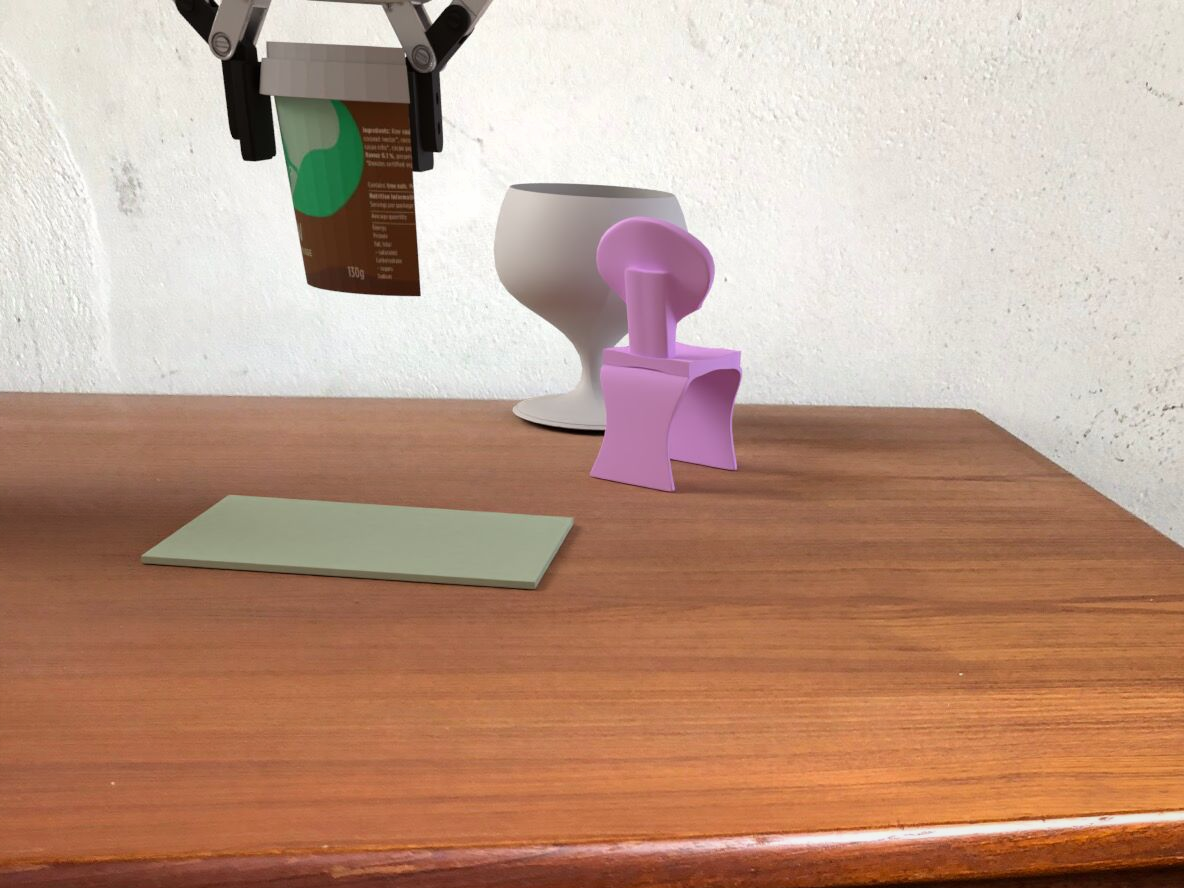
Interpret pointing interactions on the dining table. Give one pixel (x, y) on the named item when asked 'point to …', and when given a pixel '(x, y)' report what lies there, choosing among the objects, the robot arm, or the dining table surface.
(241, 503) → the mat
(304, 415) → the dining table surface
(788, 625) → the dining table surface
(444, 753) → the dining table surface
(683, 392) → the toy chair
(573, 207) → the chalice
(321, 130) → the food container
